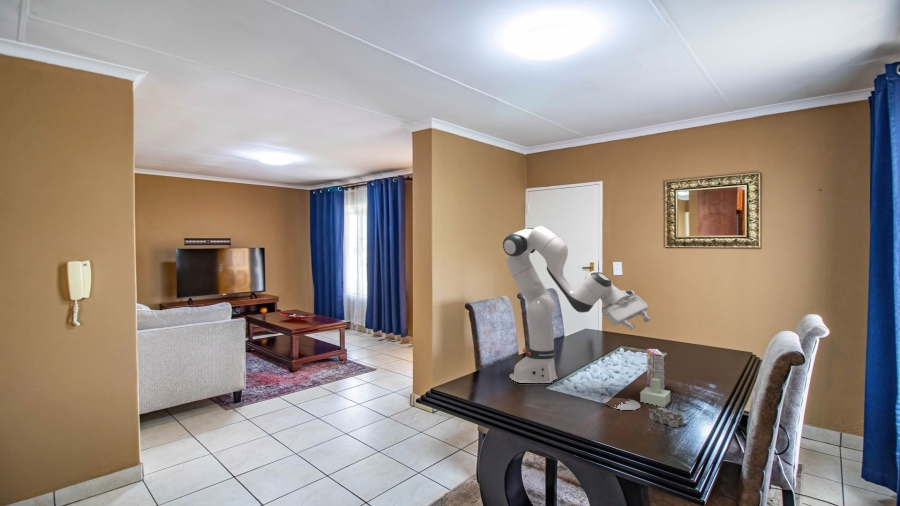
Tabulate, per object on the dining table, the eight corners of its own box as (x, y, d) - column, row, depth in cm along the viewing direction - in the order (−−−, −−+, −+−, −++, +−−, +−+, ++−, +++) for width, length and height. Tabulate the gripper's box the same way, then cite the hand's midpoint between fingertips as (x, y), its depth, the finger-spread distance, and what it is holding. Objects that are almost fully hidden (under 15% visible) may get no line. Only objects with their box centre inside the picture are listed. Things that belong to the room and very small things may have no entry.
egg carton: (646, 419, 159) (646, 408, 159) (658, 415, 163) (658, 404, 163) (674, 429, 150) (674, 417, 150) (686, 424, 154) (686, 413, 153)
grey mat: (614, 412, 165) (614, 410, 165) (596, 399, 179) (596, 398, 179) (648, 409, 167) (648, 408, 167) (627, 397, 181) (627, 396, 181)
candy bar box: (646, 384, 197) (646, 348, 197) (658, 385, 196) (658, 348, 196) (652, 392, 186) (652, 354, 186) (665, 393, 185) (665, 355, 185)
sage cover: (640, 402, 175) (640, 379, 175) (646, 396, 182) (646, 374, 182) (664, 407, 169) (664, 384, 169) (670, 400, 176) (670, 378, 176)
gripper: (602, 303, 178) (627, 328, 170) (634, 289, 188) (660, 312, 180) (596, 313, 183) (620, 338, 175) (628, 298, 192) (653, 321, 184)
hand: (641, 324), depth 177 cm, fingers open, 8 cm apart
